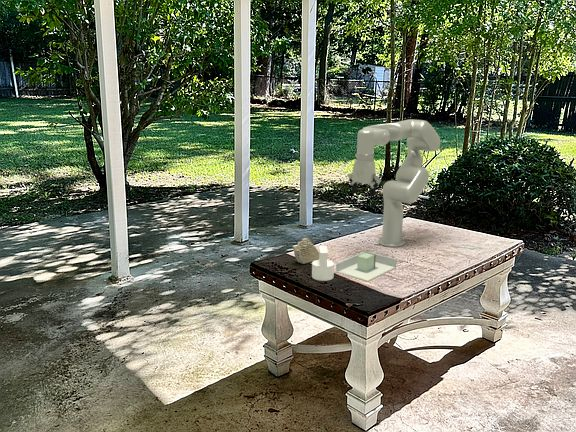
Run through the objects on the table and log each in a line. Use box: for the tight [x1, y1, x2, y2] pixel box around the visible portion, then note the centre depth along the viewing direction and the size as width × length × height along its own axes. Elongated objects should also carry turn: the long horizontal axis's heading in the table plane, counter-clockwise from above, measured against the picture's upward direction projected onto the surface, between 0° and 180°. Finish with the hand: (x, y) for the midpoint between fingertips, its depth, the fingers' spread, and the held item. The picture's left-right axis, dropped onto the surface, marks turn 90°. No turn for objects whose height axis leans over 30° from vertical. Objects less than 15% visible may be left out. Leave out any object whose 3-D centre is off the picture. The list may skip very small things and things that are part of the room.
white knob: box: [311, 245, 335, 282], centre depth 224 cm, size 9×9×12 cm
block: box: [357, 251, 377, 272], centre depth 232 cm, size 5×7×6 cm, turn 138°
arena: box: [335, 250, 398, 283], centre depth 233 cm, size 22×16×4 cm
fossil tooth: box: [293, 237, 319, 265], centre depth 242 cm, size 12×6×15 cm
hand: (363, 195), depth 246 cm, fingers open, 9 cm apart
